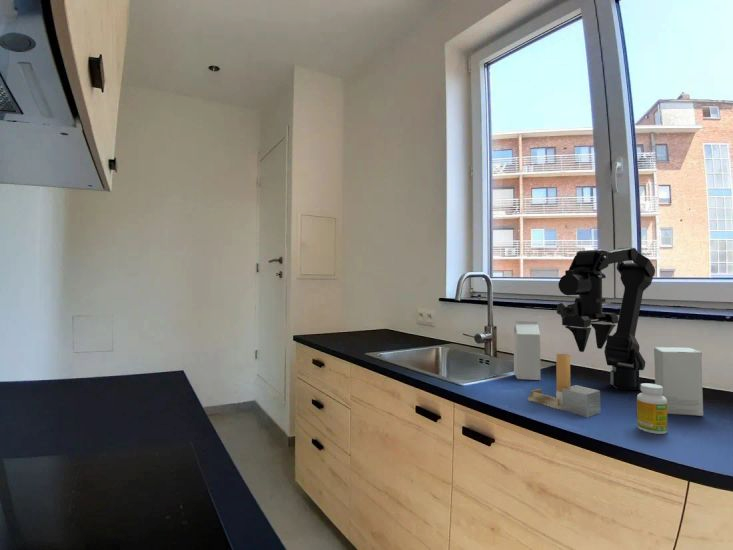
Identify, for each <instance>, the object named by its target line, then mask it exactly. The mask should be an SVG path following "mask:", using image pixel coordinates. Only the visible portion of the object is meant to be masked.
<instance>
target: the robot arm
mask: <svg viewBox="0 0 733 550" xmlns="http://www.w3.org/2000/svg"><path fill="white" fill-rule="evenodd" d="M627 261H632V262H627ZM610 264H616V270H617V272H618V273H619V274H620V281H621V283H622V285H623V287H624V289H623V293H622V294H623V295H622V301H621V304H620V310H619V315H617V314H616V313H615V312H603V303H606V298H603V279H606V278H607V277H606V274H604V273H603V272H602V271H603V270H605V269H607V268H609V265H610ZM564 272H565V273H564V275H562V276H561V278H560V279H559V281H558V285H557V286H558V290H559V291H560V292H561V293H562V294H564V296H565V295H566V296H578V297H575V299H574V303H571V304H567V303H566V302H560V303H558V304H557V306H556V314H557V315H560V317H561V325H562V326H564V328H566V329H568V330H569V331H570V332H571V333H572V335H573V338H574V340H575V343H576V346H577V349H578V351H579V353H580V352H581V353H584V352H585V350H586V347H587V345H588V344H587V343H588V341H589V337H590V335H591V334H590V333H591V331H592V328H593V329H594V333H595V334H594V336H595V341H596V342H595V344H596V348H597V349H600V350H602V349H603V347H604V350H603V351H604V357H605V361H606V365H607V366H610V367H612V368H611V369H610V371H609V372H610V375H609V376H610V382H609V383H610V385H611V386H612V385H613V387H614V388H615V389H617V390H624V391H625V390H627V391H641V389H640V388H641V386H640V371H644V370H645V367H646V361H645V359H644V357H643V356H642V353H641V352H640V344H639V342H638V340H637V338H636V333H637V332H636V331H637V327H638V320H639V316H640V310H641V306H642V305H641V304H642V300H643V294H644V291H646V289H648V288H649V286H651V285H652V282H653V279H654V277H655V273H656V268H655V266H654V265H653V263H652V261H651V260H650V259H649V258H648V257H646V256H645V255H643V254H641V253H640V252H639V251H638V249H637V248H636V247H633V246H632V247H627V246H626V247H618V248H616V249H609V250H605V249H590V250H589V249H587V250H579V251H577V252H576V253H575V256H574V257H573V260H572V261H571V264H570V265H569V268H568V270H565V271H564ZM616 324H617V325H616ZM615 327H616V331H615V332H614V333H613V334H612V335H610V334H611V333H612V331H613V329H614V328H615ZM604 345H605V346H604Z"/></svg>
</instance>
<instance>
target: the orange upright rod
mask: <svg viewBox="0 0 733 550" xmlns="http://www.w3.org/2000/svg"><path fill="white" fill-rule="evenodd" d="M555 360H556V363H555V364H556V367H555V368H556V371H555V372H556V373H555V374H556V390H555V394H556V397H555V398H558V399H559V404H561V405H563V388H567V387H571V354H567V353H556V359H555Z"/></svg>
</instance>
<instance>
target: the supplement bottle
mask: <svg viewBox="0 0 733 550" xmlns="http://www.w3.org/2000/svg"><path fill="white" fill-rule="evenodd" d="M640 389H641V390H640V391H641V392H640V393H638V394H637V396H636V422H637V423H636V424H637V425H636V426H637V428H638V429H639V430H641V431H642V430H643V432H645V433H650V434H655V435H663V434H664V435H665V434H667V432H668V414H667V399H666V398H665V397H664V396H662V394H663V387H662V386H660V385H656V384H655V383H648V382H647V383H646V382H645V383H640Z"/></svg>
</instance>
